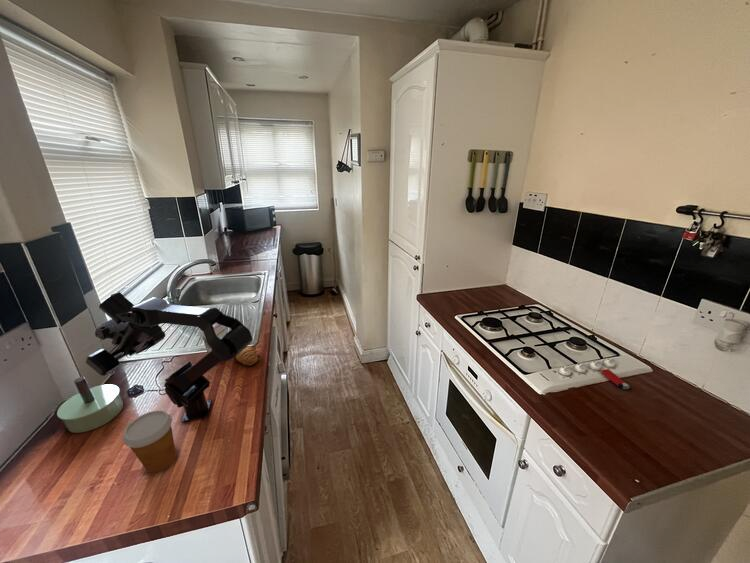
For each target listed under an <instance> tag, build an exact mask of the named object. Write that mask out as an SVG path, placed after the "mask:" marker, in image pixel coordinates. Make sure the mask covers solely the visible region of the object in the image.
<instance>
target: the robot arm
mask: <svg viewBox="0 0 750 563" xmlns="http://www.w3.org/2000/svg"><path fill="white" fill-rule="evenodd" d="M98 308H99V310H101V311H102V312H103V313H104V314H106V315H107V316H108V317H109V318H110V319H109V320H107V321H105V322H103V323H101V324H100V325H99V326H97V328H96V329H95V330H94V336H95V337H96V338H98V339H100V340H102V341H104V340H106V339H109V340H112V341H111V342H110V343H111V344H112V345H113V346H117V350H115V351H113V352H111V353H110V352H109V351H107V349H105V348H100V349H98V350H97V351H94V352H93V353H91V354H89V355H88V356H87V357H86V358H85V364H86V365H88V367H90V368H91V369H92V370H93V371H95V372H96V373H97V374H98V375H100V376H102V377H103V376H104V377H105V376H107V375H109V374H111V373H113V372H114V371H116V370H118V368H119V366H120V360H121V359H123V358H125V357H127V356H130V357H133V355H138V354H140V353H142V352H144V351H146V350H148V349H150V348H152V347H154V346H155V345H157V344H159V343H160V342H162V341H164V340H165V337H166V332H165V331H164V330H163V328H162V327H161V326H160V325H161V324H168V325H177V326H183V327H184V326H185V327H193V328H198V329H200V331H201V330H202V331H203V332H204V335H205V338H206V341H207V343H208V345H209V346H210V347H211V348H212V351H211V352H210V353H208V354H205V356H203V357H202V358H200V359H199V360H198V361H197V362H196V363H194V364H192V363H191V361H190V360H188V361H187V362H185V364H183V365H181V367H179V368H177V370H175V371H174V372H173V373H171V374H170V375H169V376H167V378H165V379H164V381H165V383H164V385H163V386H164V392H165V394H166V395H167V397H168V398H169V400H170V401H171V402H172V404H173V405H176V407H177V408H179V409H180V408H182V407H183V410H184V413H183V416H182V419H181V421H182V422H183V423H185V422H190V421H194V420H199V419H204V418H207V417H208V415H209V413H210V407H211V404H212V400H211V399H209V400H207V399H206V395H205V392H204V391H206V390H207V389H208V388H209V387H210V386H211V385H210V384H211V382H210V380H209V379H208V378H207V377H205V376H204V375H205V374H206V373H208V372H209V371H210V370H212V369H213V368H215V367H216V366H217V365H218V364H220V363H221V362H224V363H225V362H228V361H230V360H232V359H235V358H236V356H237V355H238V354H239V353H240V352H241V351H242V350H243V349H244V348H245V347H246V346H249V345H250V344H251V343H252V342H253V336H252V333H251V331H250V330H249V328H248V327H246V326H245V325H244V324H243V323H242V322H241V321H240V320H239V319H238V318H235V317H233V316H229V315H227V314H225V313H223V312H222V311H221V310H220V309H219V308H218V307H199V306H189V305H179V304H171V303H170V302H168V300H166V299H163V298H160V297H155V296H153V297H151V298H148V299H146V300H143V301H140V302H138V303H136V304H134V303H132V302H131V301H130V300H129V299H128V298H126V297H125V296H124V294H123V293H122V292H120V291H116V292H114V293H111V294H110V296H109V297H108V298H106V299H105V300H103V302H101V303H100V304H99V305H98ZM215 323H217V324H220V325H223V326H225V328H229V329H230V330H229V331H226V334H225V335H224V336H222V337H221V338H220V339H219V338H218V337H217V336H216V334H215V331H214V328H213V325H214V324H215Z"/></svg>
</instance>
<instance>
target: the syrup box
mask: <svg viewBox="0 0 750 563" xmlns="http://www.w3.org/2000/svg"><path fill="white" fill-rule="evenodd" d="M213 328H214V331H215V334H216V336H217V337H218V338H219V339H220V338H221V337H222V336H224V335H225V334H226V333H227V331H226V326H223V325H220V324H217V323H215V324H214V325H213ZM200 333H201V336H202V339H203V340H202V341H203V343H204V346H205V350H206V353H207V354H208V353H210V352H211V351H212V348H211V347H210V346H209V345H208V343H207V341H206V338H205V335H204V332H203V331H202V330H201V329H200ZM207 354H206V355H207Z"/></svg>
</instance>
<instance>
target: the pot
mask: <svg viewBox="0 0 750 563" xmlns="http://www.w3.org/2000/svg"><path fill="white" fill-rule="evenodd" d="M123 402H124V401H123V399H122V396H121V394H120V393H119V395H118V397H117V398H116V399H115V400H114V401H113V402H112V403H111V404H110V405H109V406H107V407H106V408H104V409H102V410H101V411H99V412H97V413H95V414H92V415H90V416H87V417H84V418H81V419H77V420H70V421H66V420H62V422H63V424H64V426H65V428H66V429H67V430H68V431H69V432H70V433H75V434H78V433H79V434H80V433H85V432H90V431H92V430H95V429H97V428H100V427H102V426H104V425H106V424H107V423H108V422H109V423H110V421H112V420H113V419H115V418H116V417H117V416H118V415H119V414H120V413H121V411H122V410H123V408H124V403H123Z"/></svg>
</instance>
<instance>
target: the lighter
mask: <svg viewBox="0 0 750 563" xmlns="http://www.w3.org/2000/svg"><path fill="white" fill-rule="evenodd" d="M600 372H601V374H603V376H605V377H606V378H608V379H609V381H611V382H612V383H613V384H614V385H616V386H617V387H618V388H620V389H623V390H628V389H630V385H629V384H628V383H626V382H625V381H624V380H623V379H621V378H620V376H618V375H616V373H614V372H613V371H612V370H610V369H609V368H607V369H602V370H601V371H600Z"/></svg>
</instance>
